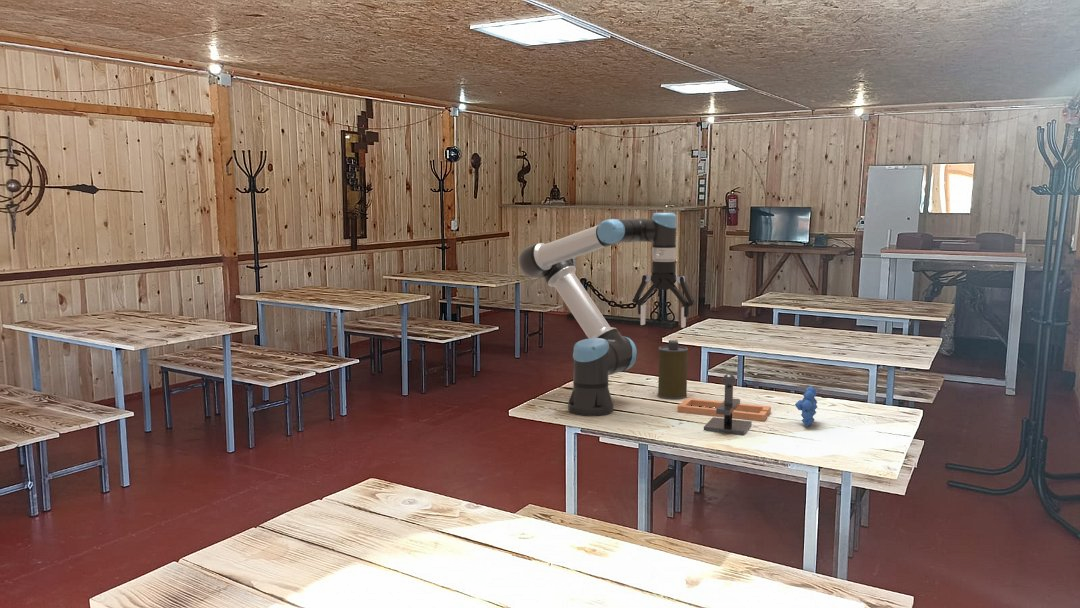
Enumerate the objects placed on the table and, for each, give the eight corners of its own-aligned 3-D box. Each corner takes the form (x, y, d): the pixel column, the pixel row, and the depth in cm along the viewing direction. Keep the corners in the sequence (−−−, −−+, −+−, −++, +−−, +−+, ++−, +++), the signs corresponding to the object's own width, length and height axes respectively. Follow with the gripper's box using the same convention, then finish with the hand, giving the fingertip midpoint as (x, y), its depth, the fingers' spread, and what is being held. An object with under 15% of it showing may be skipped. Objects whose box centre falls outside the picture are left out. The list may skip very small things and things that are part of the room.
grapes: (797, 418, 252) (799, 381, 251) (819, 421, 249) (821, 383, 247) (790, 427, 242) (792, 389, 240) (813, 430, 239) (815, 391, 237)
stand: (702, 431, 238) (703, 377, 236) (714, 419, 251) (715, 367, 249) (742, 436, 233) (744, 380, 231) (752, 423, 246) (754, 371, 244)
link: (677, 411, 261) (677, 405, 261) (687, 403, 272) (687, 398, 271) (764, 421, 249) (764, 415, 249) (770, 412, 260) (770, 406, 259)
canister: (689, 399, 278) (690, 343, 275) (659, 399, 278) (660, 343, 275) (684, 392, 288) (685, 338, 286) (655, 392, 288) (656, 338, 286)
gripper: (623, 260, 257) (622, 324, 260) (699, 262, 246) (697, 329, 249) (630, 259, 264) (630, 321, 266) (705, 261, 253) (703, 326, 256)
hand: (662, 325), depth 258 cm, fingers open, 13 cm apart
